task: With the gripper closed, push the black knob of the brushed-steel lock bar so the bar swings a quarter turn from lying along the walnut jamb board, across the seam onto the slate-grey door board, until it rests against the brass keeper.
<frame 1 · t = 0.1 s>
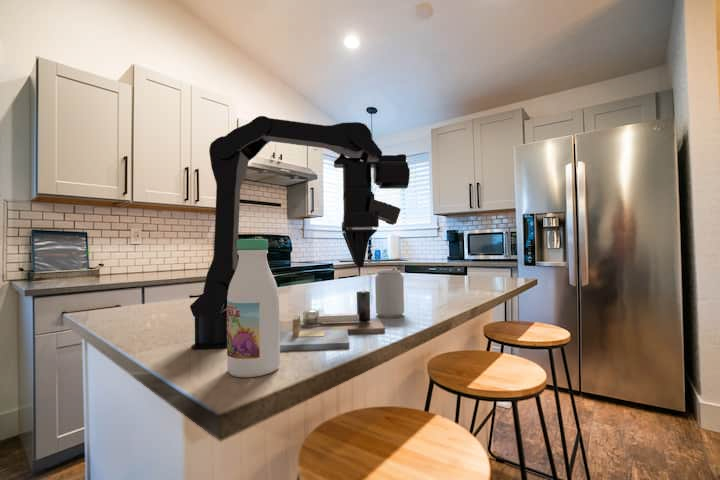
hand: (358, 265, 70), 15 cm above the countertop, fingers open, 9 cm apart
can: (389, 316, 92), on the countertop
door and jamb: (309, 335, 72), on the countertop
milk bottle: (254, 370, 53), on the countertop
lock bar: (336, 307, 79), point 5 cm above the countertop, hinge at 0.0°
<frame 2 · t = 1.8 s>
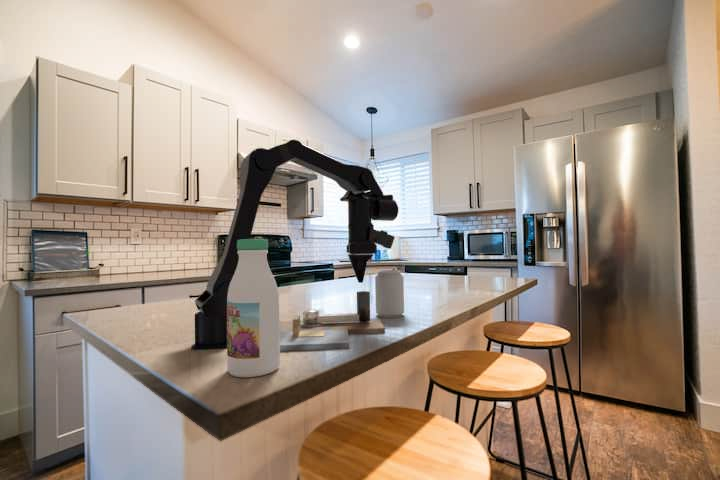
hand: (360, 282, 86), 10 cm above the countertop, fingers closed
nothing on the countertop moved.
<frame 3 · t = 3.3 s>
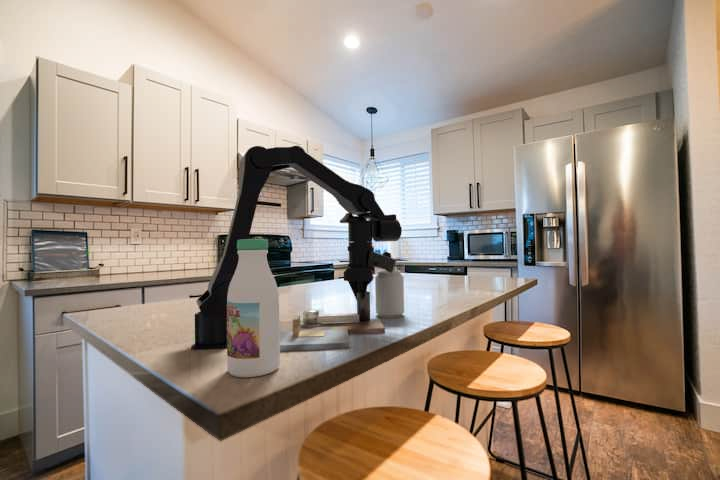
hand: (361, 306, 83), 4 cm above the countertop, fingers closed
lock bar: (336, 307, 79), point 5 cm above the countertop, hinge at -0.5°, touching gripper
everything else where it was.
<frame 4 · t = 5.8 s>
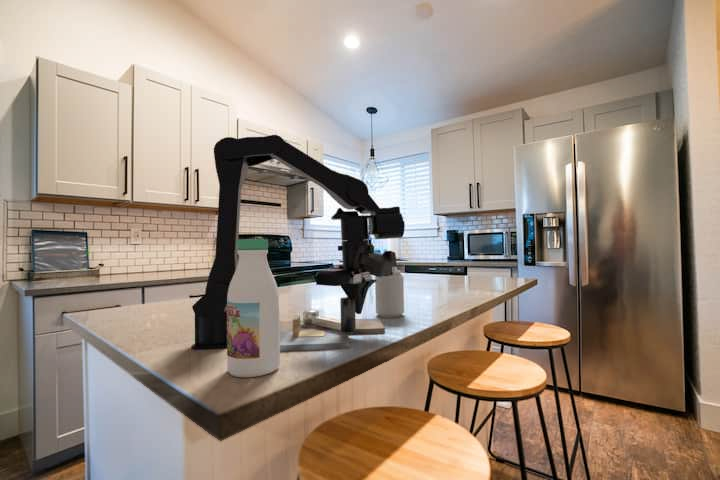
hand: (358, 313, 73), 4 cm above the countertop, fingers closed
lock bar: (327, 310, 74), point 5 cm above the countertop, hinge at -47.6°, touching gripper
everything else where it was.
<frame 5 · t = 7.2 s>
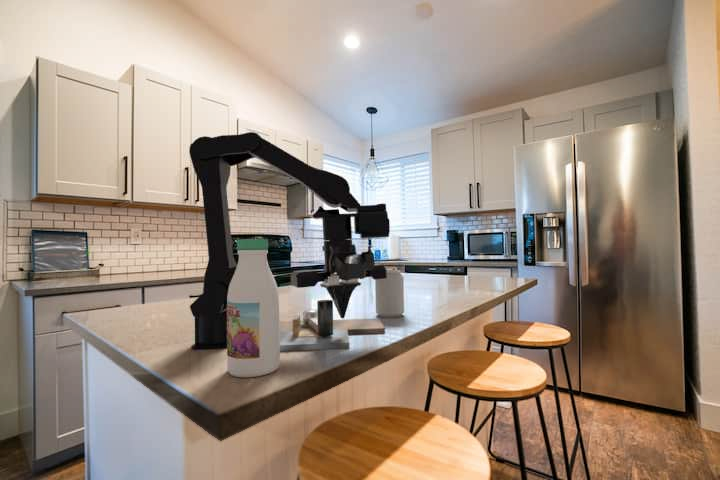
hand: (342, 318, 69), 4 cm above the countertop, fingers closed
lock bar: (317, 312, 73), point 5 cm above the countertop, hinge at -72.8°, touching gripper
everything else where it was.
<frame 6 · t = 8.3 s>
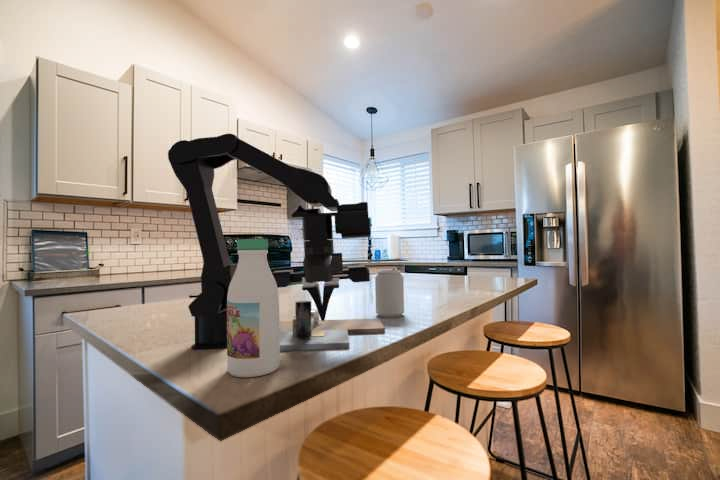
hand: (322, 320, 67), 4 cm above the countertop, fingers closed
lock bar: (307, 312, 73), point 5 cm above the countertop, hinge at -92.9°, touching gripper
everything else where it was.
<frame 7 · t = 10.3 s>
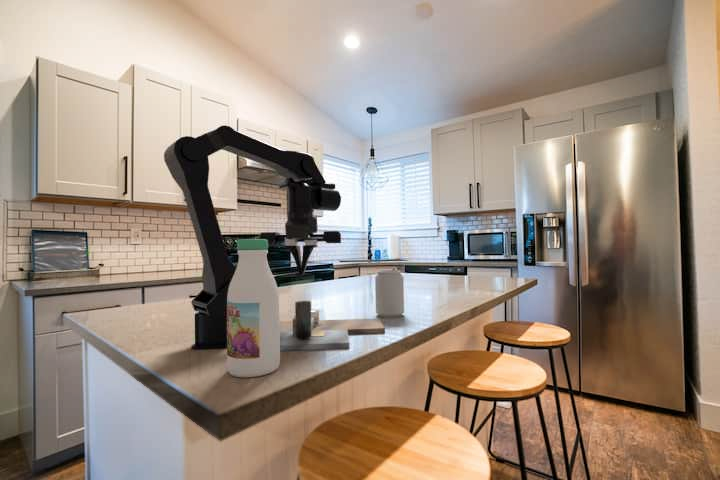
hand: (301, 274, 81), 12 cm above the countertop, fingers closed
lock bar: (307, 312, 73), point 5 cm above the countertop, hinge at -93.0°
everything else where it was.
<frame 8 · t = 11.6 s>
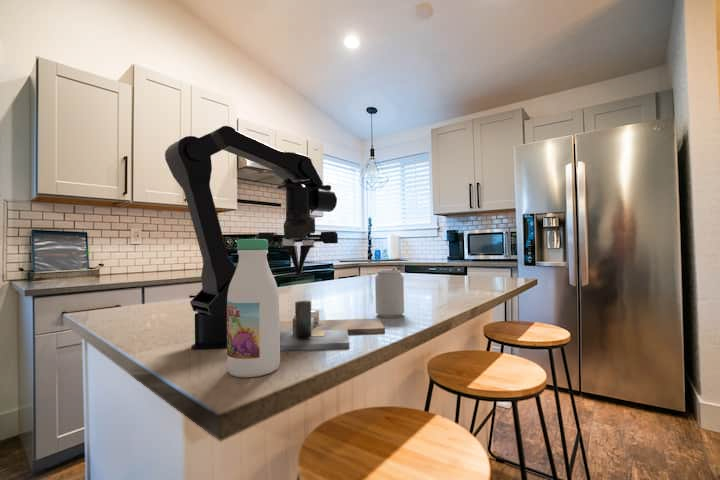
hand: (299, 274, 82), 12 cm above the countertop, fingers closed
nothing on the countertop moved.
at the end: lock bar at -93° (first picture: +0°); milk bottle moved 0.2 cm from its start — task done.
